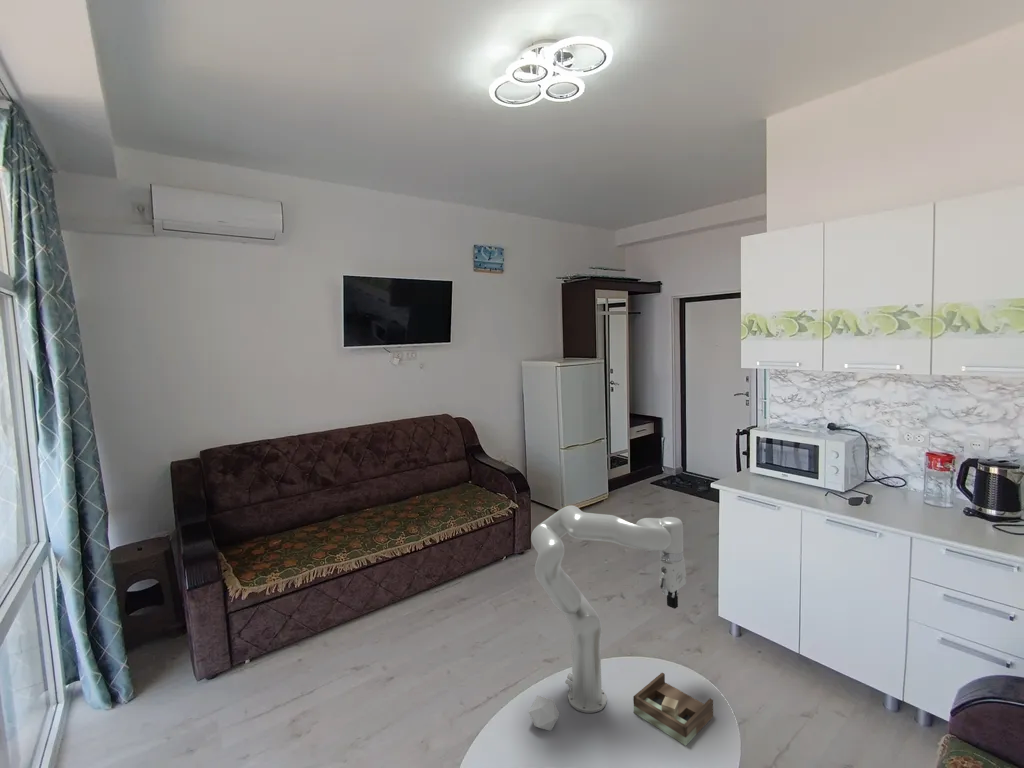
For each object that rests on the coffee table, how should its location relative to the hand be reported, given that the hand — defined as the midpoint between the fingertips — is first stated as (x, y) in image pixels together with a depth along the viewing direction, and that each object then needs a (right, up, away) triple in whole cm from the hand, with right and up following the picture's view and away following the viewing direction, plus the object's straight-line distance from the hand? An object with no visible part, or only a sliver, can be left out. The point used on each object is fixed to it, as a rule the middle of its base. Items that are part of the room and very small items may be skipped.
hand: (672, 606), depth 168 cm
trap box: (-4, -28, -13) cm, 31 cm away
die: (-45, -30, -15) cm, 56 cm away
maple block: (-6, -26, -16) cm, 31 cm away
